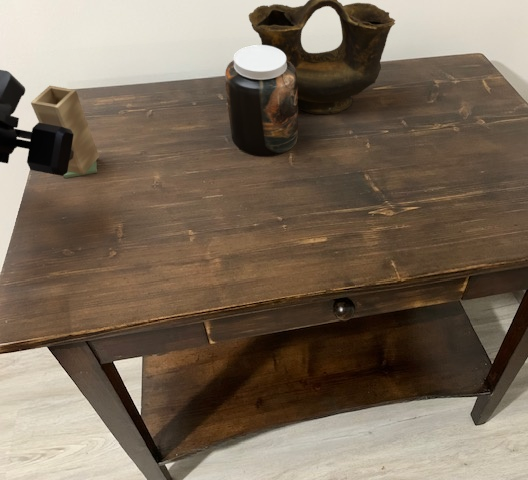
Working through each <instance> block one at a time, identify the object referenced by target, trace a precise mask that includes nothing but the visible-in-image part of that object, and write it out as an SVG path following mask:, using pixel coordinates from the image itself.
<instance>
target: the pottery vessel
mask: <svg viewBox="0 0 528 480" xmlns="http://www.w3.org/2000/svg"><path fill="white" fill-rule="evenodd" d="M325 7H330V8H332V9H333V10H334V11H335V12H336V14H337V16H338V17H339V22H340V27H341V36H342V37H341V38H342V39H341V43H340V44H339V45H338V46H337V47H336V48H334V49H331V50H328V51H322V52H308V51H307V50H305V48H304V47H303V44H302V33H303V29H304V28H305V26H306V25H307V23H308V21H309V20H310V18H311V17H312V16H313V15H314V13H315V12H316V11H318V10H320V9H322V8H325ZM248 20H249V22H250V24H251V27H252V29H253V30H254V32H256V33H257V34H258V37H259V38H260V41H261V45H267V46H272V47H275V48H278V49H279V50H281V51H282V52H284V54H285V55H286V60H288V61H289V62H290V63H291V64H292V65H293V66H294V68H295V70H296V74H297V88H298V110H300V111H303V112H305V113H309V114H314V115H331V114H333V115H334V114H337V113H341V112H342V111H344V110H347V109H349V108H350V107H351V106H352V104H353V98H352V97H353V96H356V95H358V94H359V93H361V92H363V91H364V90H366V89H367V88H369V87H370V86H372V85H374V84H375V83H376V81H377V79H378V77H379V75H380V71H381V69H382V65H381V60H382V56H383V53H384V50H385V47H386V45H387V41H388V40H387V39H388V37H389V34H390V31H391V28H392V27H393V26H394V25H395V24H396V20H395V19H394V18H392V17H390V12H389V11H385V10H384V9H383V8H380V7H378V6H377V5H375V4H372V3H369V2H368V3H367V2H354V3H353V2H352V3H349V4H345V5H343V4H342V2H339V0H308V1H306V3H304V4H303V5H299V6H293V7H292V6H289V5H284V4H278V3H276V4H275V3H273V4H271V5H260V6H257V7H256V8H255V9H253V12H250V13H249V14H248Z"/></svg>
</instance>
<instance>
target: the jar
mask: <svg viewBox="0 0 528 480" xmlns="http://www.w3.org/2000/svg"><path fill="white" fill-rule="evenodd" d="M224 73H225V74H224V80H225V92H226V93H225V94H226V102H227V110H228V119H229V127H230V134H231V140H232V142H233V143H234V145H235V146H236V147H237V148H238V149H239V150H241V151H242V152H245V153H247V154H249V155H253V156H258V157H273V156H278V155H282V154H285V153H286V152H288V151H289V150H291V149H292V148H294V146H296V144H297V141H298V137H299V109H298V88H297V74H296V70H295V68H294V66H293V65H292V64H291V63H290V62H289V61H288V60H286V55H285V54H284V52H282V51H281V50H279V49H278V48H275V47H272V46H267V45H262V44H253V45H248V46H244V47H242V48H240V49H238V50H236V52H235V53H234V55H233V60H231V61H230V62H229V63H228V64H227V66H226V68H225V72H224Z"/></svg>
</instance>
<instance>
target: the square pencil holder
mask: <svg viewBox="0 0 528 480" xmlns="http://www.w3.org/2000/svg"><path fill="white" fill-rule="evenodd" d="M30 104H31V107H32V110H33V112H34V115H35V116H36V118H37V121H38V123H44V124H50V125H55V126H61V127H64V128H68V129H71V131H72V132H73V134H74V136H73V142H72V148H71V150H73V151H74V155H73V159H71V160H70V161H69V165H68V171H69V172H74V173H80V174H85V172H86V171H87V170H88V169H89V168H90V167H91V165H92V164H93V163H94V162H95V161H96V162H97V160H98V159H99V157H100V154H99V152H98V149H97V146H96V143H95V140H94V137H93V134H92V131H91V129H90V126H89V123H88V120H87V117H86V115H85V112H84V109H83V106H82V103H81V100H80V98H79V94H78V91H77V89H72V88H67V87H61V86H54V85H49V86H47V87H46V88H45V89H44V90H43V91H42V92H40V93H39V95H37V96H36V97H35V98H34V99H32V101H30Z"/></svg>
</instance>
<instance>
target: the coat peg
mask: <svg viewBox="0 0 528 480" xmlns="http://www.w3.org/2000/svg"><path fill="white" fill-rule="evenodd" d="M97 163H98V162H97V160H96V161H95V162H94V163H93V164H92V165H91V167H90V168H89V169H88V170H87V171H86V172H85V174H80V173H74V172H69V171H67V173H66V174H65V175H63V177H64V179H68V178H73V177H79V176H85V175H91V174H97V173H98V164H97Z"/></svg>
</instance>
